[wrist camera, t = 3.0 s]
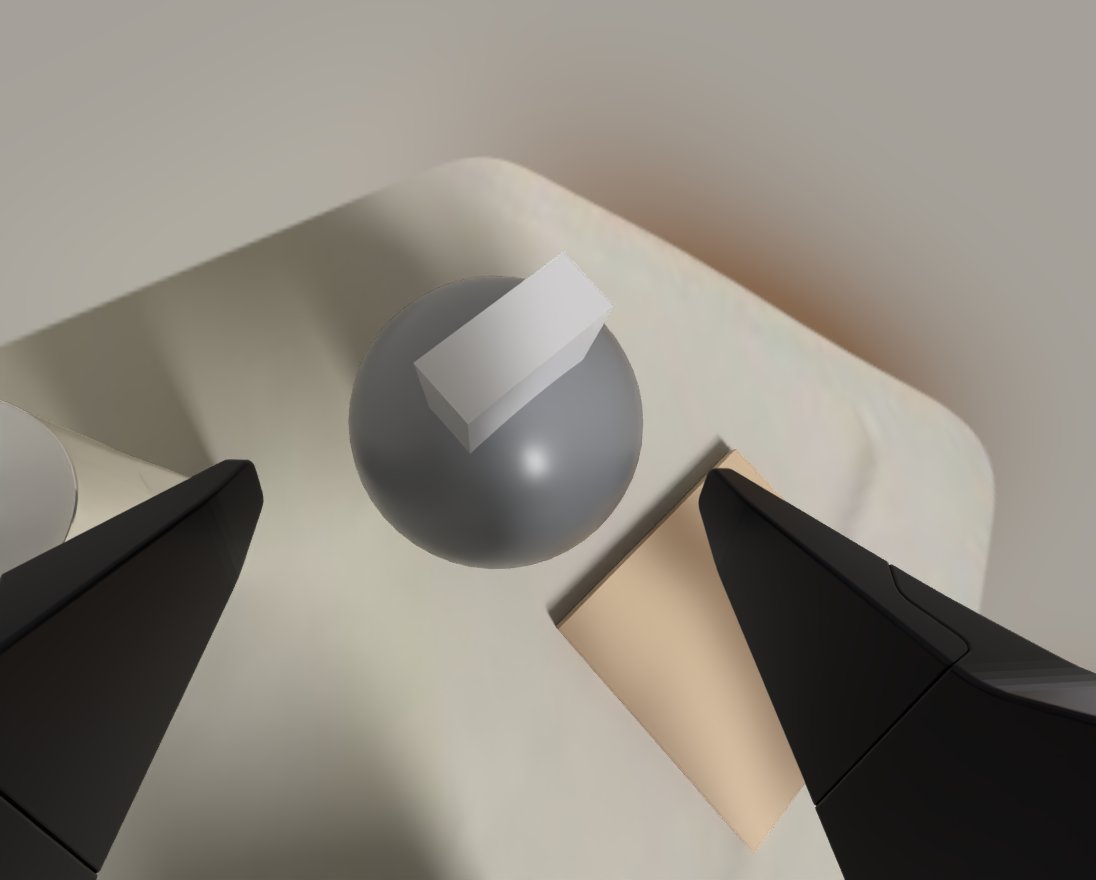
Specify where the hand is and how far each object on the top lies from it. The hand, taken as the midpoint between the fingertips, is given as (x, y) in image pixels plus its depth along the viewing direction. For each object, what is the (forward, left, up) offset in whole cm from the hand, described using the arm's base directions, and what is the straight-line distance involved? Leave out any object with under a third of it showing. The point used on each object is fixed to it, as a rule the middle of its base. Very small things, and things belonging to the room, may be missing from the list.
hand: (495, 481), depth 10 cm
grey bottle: (+1, +1, -9) cm, 9 cm away
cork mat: (+4, -10, -9) cm, 14 cm away
